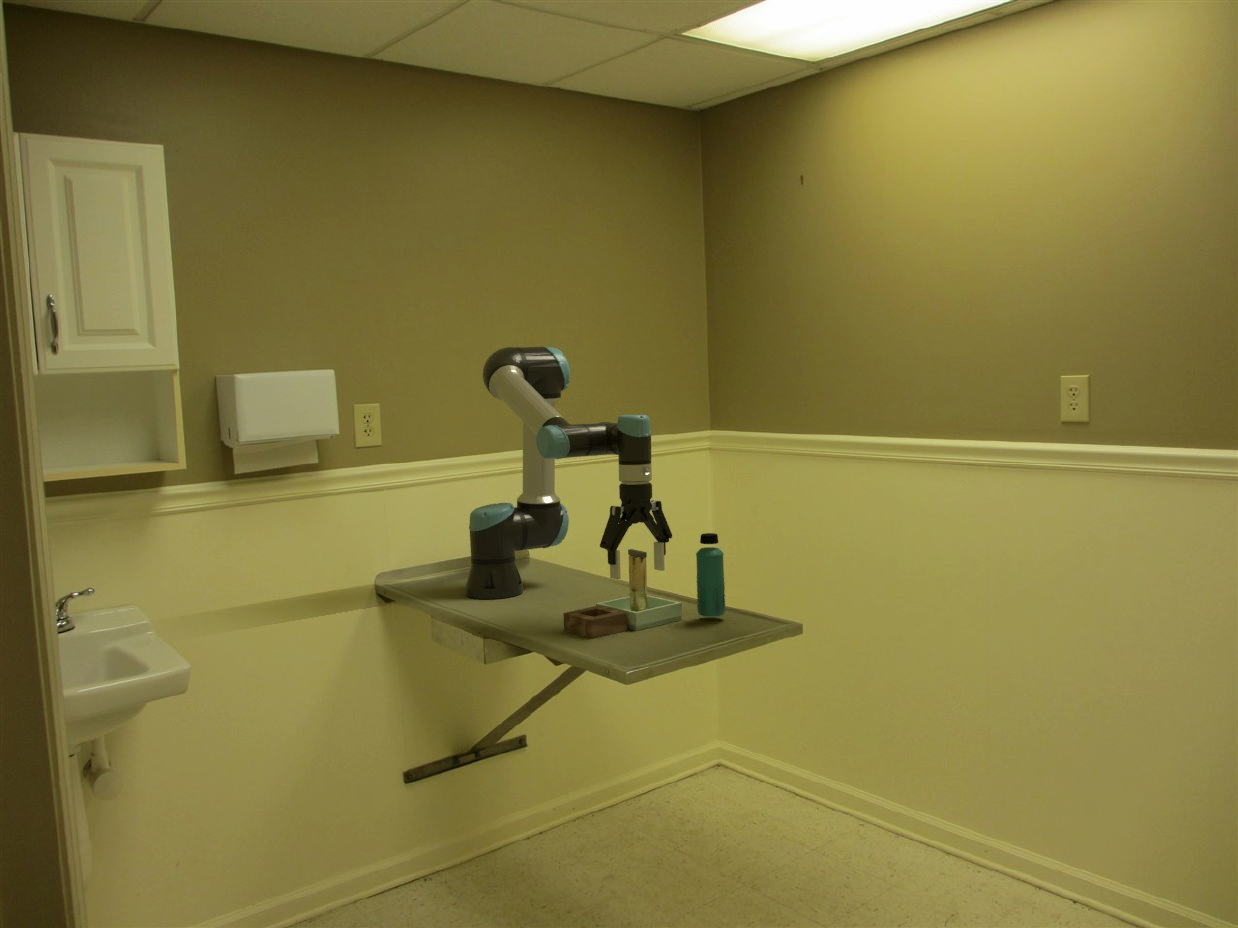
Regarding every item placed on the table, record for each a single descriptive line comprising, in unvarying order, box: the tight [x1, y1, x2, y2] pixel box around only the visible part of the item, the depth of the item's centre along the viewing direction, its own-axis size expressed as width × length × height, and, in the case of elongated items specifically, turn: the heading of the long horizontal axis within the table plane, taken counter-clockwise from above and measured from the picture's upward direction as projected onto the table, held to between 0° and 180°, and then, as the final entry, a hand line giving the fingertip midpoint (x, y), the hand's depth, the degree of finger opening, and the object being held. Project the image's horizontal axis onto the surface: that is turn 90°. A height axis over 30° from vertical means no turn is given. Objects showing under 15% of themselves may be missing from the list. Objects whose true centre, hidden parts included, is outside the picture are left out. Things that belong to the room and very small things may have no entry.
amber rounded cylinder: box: [627, 548, 648, 612], centre depth 229 cm, size 5×4×15 cm
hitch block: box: [563, 605, 628, 639], centre depth 222 cm, size 10×10×4 cm
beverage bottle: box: [695, 532, 727, 618], centre depth 228 cm, size 6×7×20 cm
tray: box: [595, 594, 683, 632], centre depth 230 cm, size 14×14×4 cm
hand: (637, 574), depth 229 cm, fingers open, 13 cm apart
